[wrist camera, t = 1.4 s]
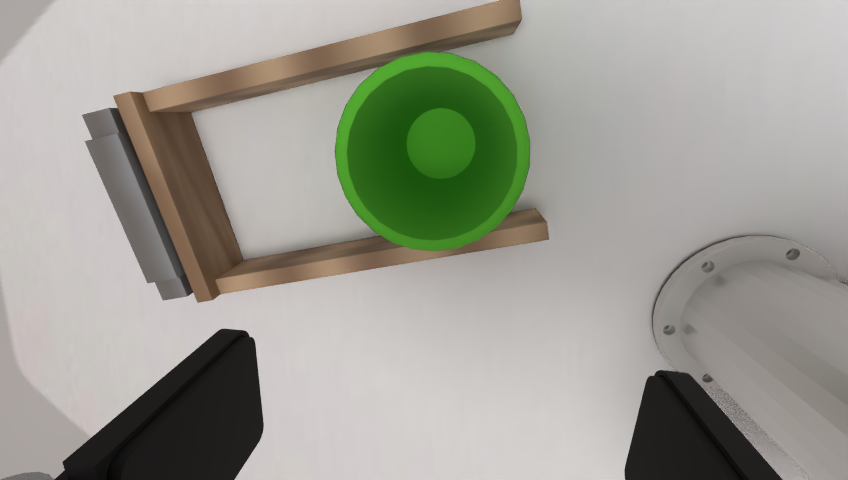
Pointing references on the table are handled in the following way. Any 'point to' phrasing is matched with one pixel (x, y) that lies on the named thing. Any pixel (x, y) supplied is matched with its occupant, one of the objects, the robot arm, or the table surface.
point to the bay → (195, 186)
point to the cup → (432, 151)
